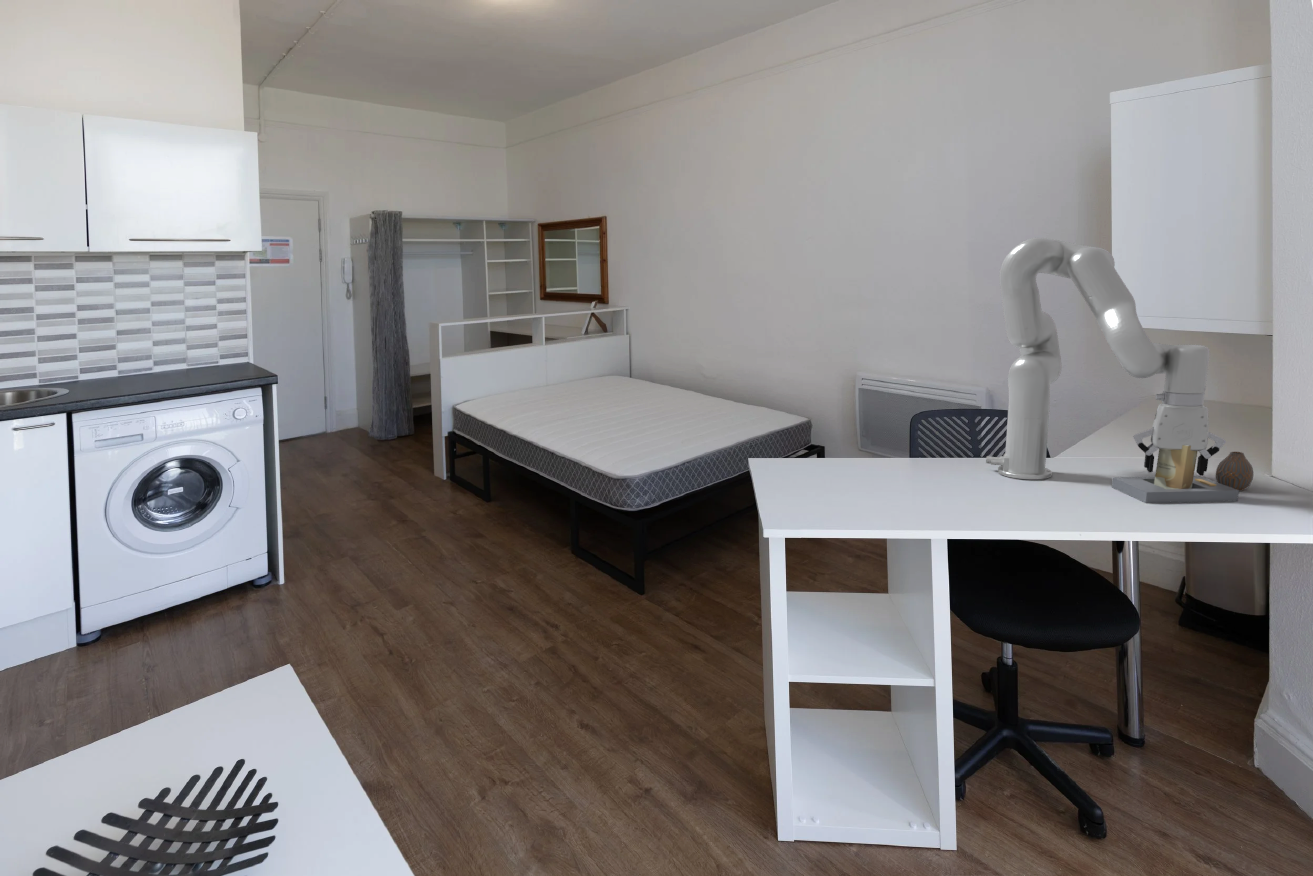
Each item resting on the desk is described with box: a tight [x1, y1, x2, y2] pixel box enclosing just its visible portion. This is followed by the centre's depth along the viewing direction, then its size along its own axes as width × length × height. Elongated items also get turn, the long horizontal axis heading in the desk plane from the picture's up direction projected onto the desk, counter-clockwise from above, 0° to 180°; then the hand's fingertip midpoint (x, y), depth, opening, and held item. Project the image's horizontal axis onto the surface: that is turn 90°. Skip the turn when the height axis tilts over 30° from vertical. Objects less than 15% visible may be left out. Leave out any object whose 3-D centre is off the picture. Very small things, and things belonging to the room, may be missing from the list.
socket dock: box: [1111, 474, 1240, 504], centre depth 166 cm, size 20×13×3 cm, turn 88°
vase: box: [1215, 451, 1255, 492], centre depth 168 cm, size 7×7×9 cm
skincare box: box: [1154, 445, 1199, 489], centre depth 165 cm, size 6×4×12 cm
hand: (1174, 472), depth 165 cm, fingers open, 9 cm apart
